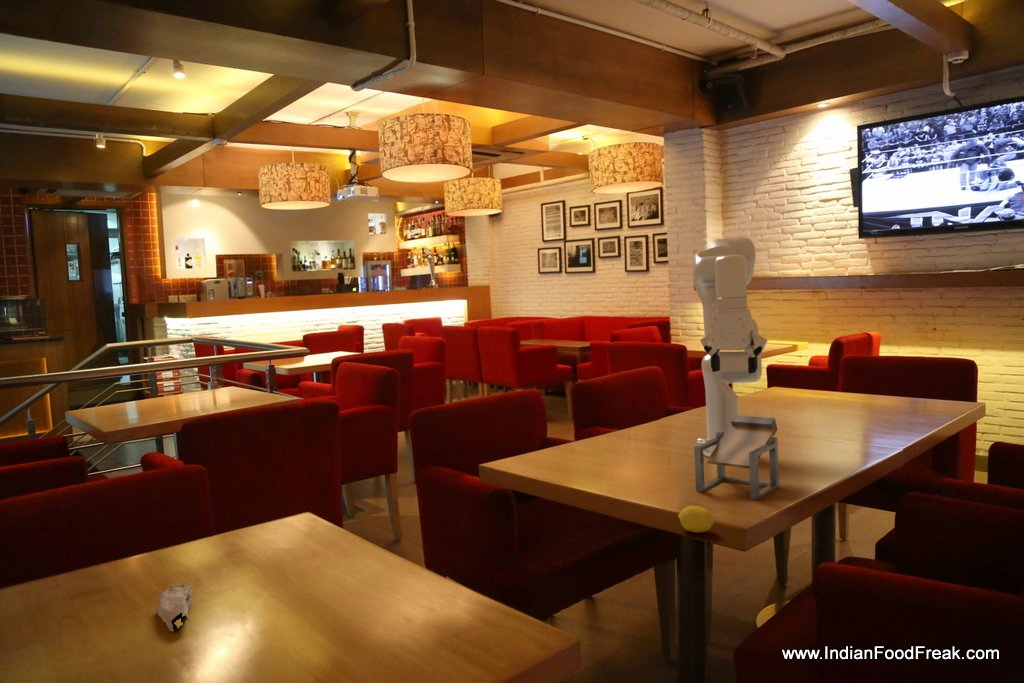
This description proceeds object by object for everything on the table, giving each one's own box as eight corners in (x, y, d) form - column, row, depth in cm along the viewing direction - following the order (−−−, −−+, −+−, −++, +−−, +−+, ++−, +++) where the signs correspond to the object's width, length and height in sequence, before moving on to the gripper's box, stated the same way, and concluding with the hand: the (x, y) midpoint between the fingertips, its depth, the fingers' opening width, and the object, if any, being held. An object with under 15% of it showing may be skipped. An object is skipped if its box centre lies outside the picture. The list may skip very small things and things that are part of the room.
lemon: (676, 499, 158) (711, 506, 153) (685, 507, 161) (720, 514, 157) (670, 524, 156) (706, 531, 151) (679, 531, 160) (714, 539, 155)
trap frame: (696, 491, 186) (694, 442, 185) (720, 478, 197) (718, 432, 196) (756, 500, 176) (755, 448, 175) (779, 486, 186) (777, 437, 185)
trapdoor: (708, 467, 187) (705, 456, 186) (735, 426, 199) (733, 415, 198) (754, 473, 179) (751, 461, 178) (779, 429, 191) (776, 418, 190)
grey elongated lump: (156, 609, 132) (154, 584, 132) (194, 602, 135) (192, 577, 135) (152, 641, 120) (150, 613, 120) (194, 632, 122) (192, 605, 122)
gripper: (693, 306, 186) (695, 372, 187) (758, 304, 174) (761, 375, 175) (706, 304, 191) (709, 368, 193) (771, 302, 180) (773, 371, 181)
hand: (733, 372), depth 184 cm, fingers open, 9 cm apart
